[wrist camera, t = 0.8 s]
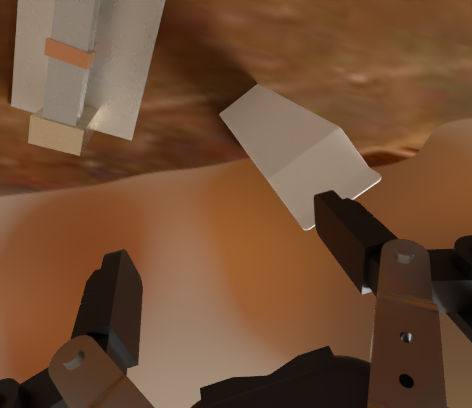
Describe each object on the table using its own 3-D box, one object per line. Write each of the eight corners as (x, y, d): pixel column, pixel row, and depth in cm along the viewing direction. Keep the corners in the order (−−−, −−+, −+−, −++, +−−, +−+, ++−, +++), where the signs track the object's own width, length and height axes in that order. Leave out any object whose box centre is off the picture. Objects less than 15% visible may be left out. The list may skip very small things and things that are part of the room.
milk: (218, 113, 36) (280, 201, 18) (258, 82, 36) (368, 139, 17) (245, 150, 40) (322, 257, 21) (282, 122, 39) (397, 207, 20)
